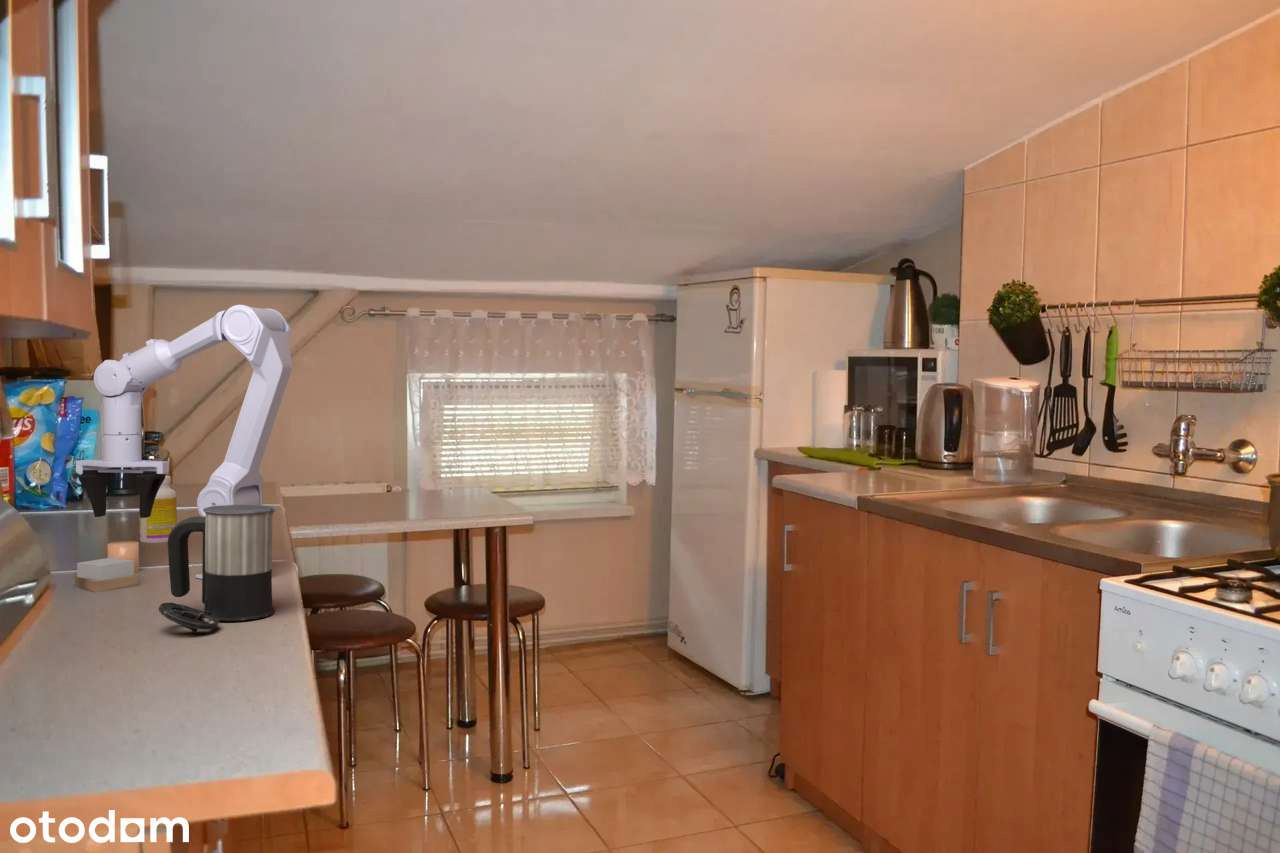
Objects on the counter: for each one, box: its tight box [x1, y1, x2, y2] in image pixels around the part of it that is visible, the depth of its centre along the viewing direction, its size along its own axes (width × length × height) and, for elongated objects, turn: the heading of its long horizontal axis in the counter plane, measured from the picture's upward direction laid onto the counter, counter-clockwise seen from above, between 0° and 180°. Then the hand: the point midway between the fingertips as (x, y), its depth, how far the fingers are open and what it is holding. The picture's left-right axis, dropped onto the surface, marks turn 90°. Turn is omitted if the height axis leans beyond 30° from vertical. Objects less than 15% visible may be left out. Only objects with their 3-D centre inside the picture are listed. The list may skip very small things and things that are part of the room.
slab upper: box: [76, 557, 135, 581], centre depth 158 cm, size 6×6×2 cm
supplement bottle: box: [139, 475, 178, 544], centre depth 201 cm, size 7×7×13 cm
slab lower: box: [74, 574, 139, 594], centre depth 158 cm, size 6×6×2 cm
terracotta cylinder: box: [106, 540, 140, 575], centre depth 169 cm, size 5×5×5 cm
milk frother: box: [158, 504, 276, 634], centre depth 137 cm, size 14×16×15 cm
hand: (122, 516), depth 169 cm, fingers open, 7 cm apart
